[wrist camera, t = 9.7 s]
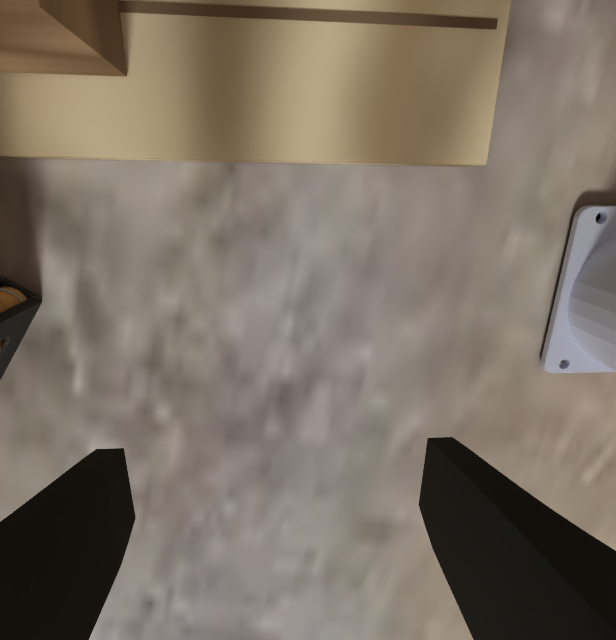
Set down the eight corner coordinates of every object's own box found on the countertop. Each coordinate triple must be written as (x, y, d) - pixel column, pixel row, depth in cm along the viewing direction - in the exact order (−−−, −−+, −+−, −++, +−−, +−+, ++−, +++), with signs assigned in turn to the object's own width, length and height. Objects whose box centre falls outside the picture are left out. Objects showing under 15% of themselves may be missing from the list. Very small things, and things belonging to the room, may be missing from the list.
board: (507, -114, 13) (535, -151, 12) (468, 166, 16) (487, 164, 15) (-49, -156, 12) (-94, -203, 11) (17, 158, 15) (-10, 154, 14)
